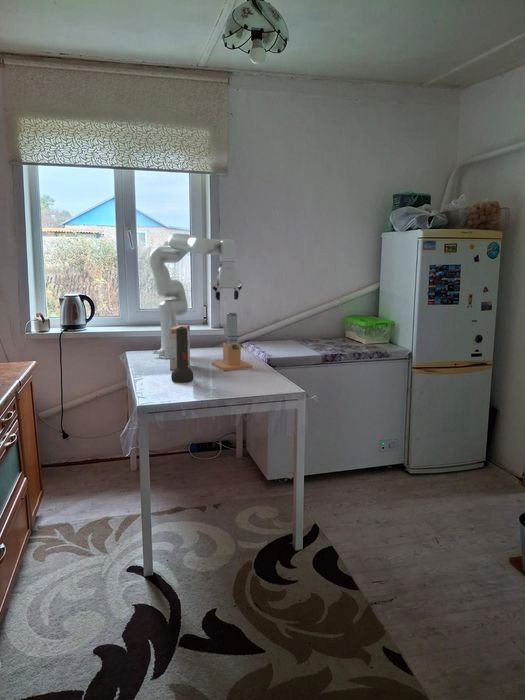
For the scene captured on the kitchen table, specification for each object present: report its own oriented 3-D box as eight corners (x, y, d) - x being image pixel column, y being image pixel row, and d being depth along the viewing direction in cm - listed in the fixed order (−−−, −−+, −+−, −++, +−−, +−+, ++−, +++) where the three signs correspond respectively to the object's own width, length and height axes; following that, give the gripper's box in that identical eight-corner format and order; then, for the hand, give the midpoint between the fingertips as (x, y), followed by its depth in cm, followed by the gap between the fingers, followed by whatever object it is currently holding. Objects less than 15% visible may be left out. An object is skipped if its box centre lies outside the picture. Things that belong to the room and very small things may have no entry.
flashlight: (167, 380, 229) (176, 384, 221) (166, 325, 224) (175, 328, 216) (187, 377, 234) (197, 381, 226) (187, 324, 230) (196, 326, 222)
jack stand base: (223, 371, 248) (223, 347, 246) (211, 364, 262) (211, 341, 260) (252, 368, 255) (252, 344, 253) (239, 362, 269) (239, 340, 267)
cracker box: (181, 371, 246) (180, 328, 242) (169, 370, 248) (168, 328, 244) (190, 365, 260) (190, 325, 256) (179, 364, 261) (179, 324, 257)
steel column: (229, 352, 254) (229, 313, 250) (225, 350, 258) (225, 312, 254) (238, 351, 256) (238, 313, 252) (234, 350, 260) (234, 312, 256)
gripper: (213, 265, 243) (213, 300, 246) (246, 265, 250) (245, 300, 254) (208, 264, 249) (208, 299, 253) (240, 265, 257) (239, 298, 260)
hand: (227, 299), depth 253 cm, fingers open, 9 cm apart
